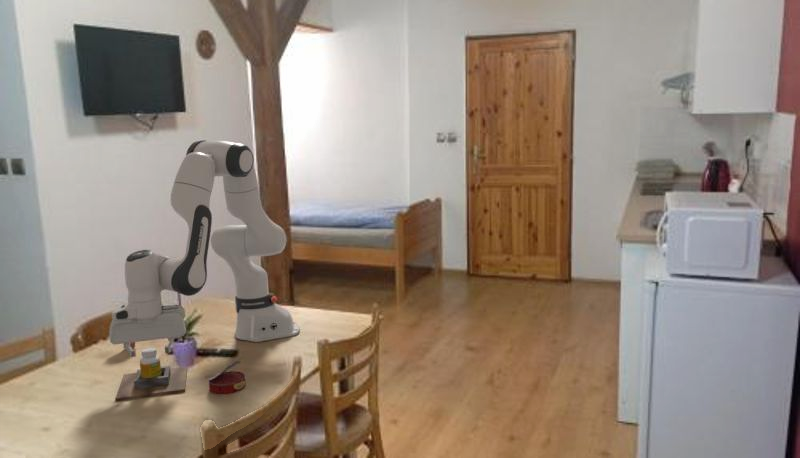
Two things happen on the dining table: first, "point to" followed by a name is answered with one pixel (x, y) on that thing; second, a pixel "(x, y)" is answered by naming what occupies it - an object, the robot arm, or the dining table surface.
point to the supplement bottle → (150, 363)
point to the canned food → (227, 381)
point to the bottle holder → (152, 384)
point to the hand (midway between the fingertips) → (150, 354)
